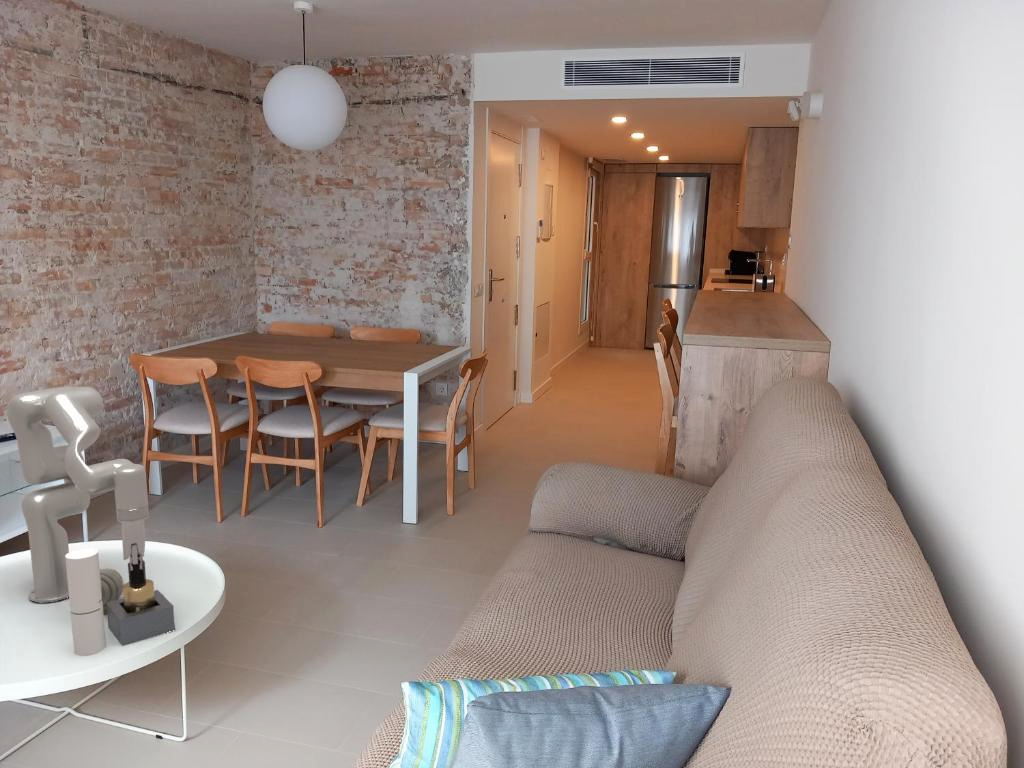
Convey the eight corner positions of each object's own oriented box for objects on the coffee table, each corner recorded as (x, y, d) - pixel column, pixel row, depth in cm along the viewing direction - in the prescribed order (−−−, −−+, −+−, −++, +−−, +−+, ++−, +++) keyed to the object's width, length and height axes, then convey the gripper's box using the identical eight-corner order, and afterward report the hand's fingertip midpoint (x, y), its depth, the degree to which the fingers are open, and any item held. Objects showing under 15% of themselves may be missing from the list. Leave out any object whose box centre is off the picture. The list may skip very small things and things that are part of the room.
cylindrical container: (111, 641, 210) (103, 548, 205) (98, 655, 202) (89, 558, 198) (82, 642, 209) (74, 548, 205) (68, 655, 202) (59, 559, 198)
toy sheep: (70, 622, 220) (67, 583, 219) (97, 595, 237) (94, 559, 235) (111, 620, 221) (108, 581, 219) (135, 594, 238) (132, 558, 236)
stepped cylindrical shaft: (120, 605, 216) (117, 562, 214) (150, 597, 220) (146, 555, 218) (128, 614, 210) (125, 570, 208) (158, 606, 215) (155, 563, 213)
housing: (108, 627, 217) (106, 602, 216) (159, 613, 225) (157, 589, 224) (122, 645, 207) (119, 619, 206) (174, 630, 215) (173, 605, 214)
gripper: (118, 505, 217) (123, 570, 220) (114, 524, 202) (120, 594, 205) (149, 501, 220) (153, 566, 223) (148, 520, 205) (153, 590, 208)
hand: (137, 579), depth 214 cm, fingers closed on stepped cylindrical shaft, 4 cm apart
